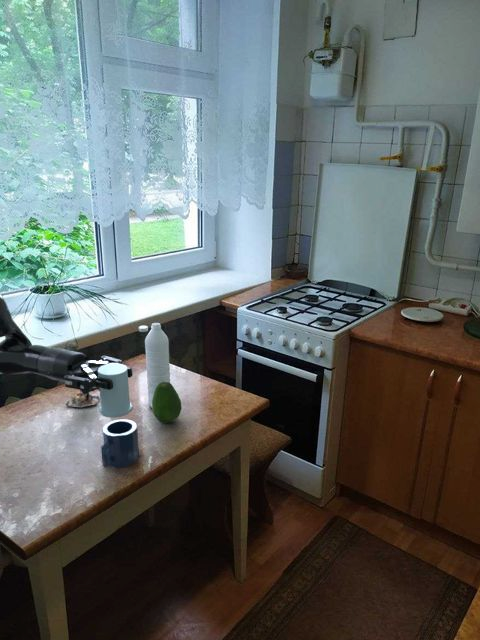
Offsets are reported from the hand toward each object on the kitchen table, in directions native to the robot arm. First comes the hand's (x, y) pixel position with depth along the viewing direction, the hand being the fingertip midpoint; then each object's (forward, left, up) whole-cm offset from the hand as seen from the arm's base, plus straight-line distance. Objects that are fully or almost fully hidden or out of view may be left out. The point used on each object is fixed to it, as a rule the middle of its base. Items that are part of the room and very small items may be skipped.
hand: (121, 378), depth 111 cm
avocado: (+17, -10, -22) cm, 29 cm away
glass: (+1, +2, -8) cm, 9 cm away
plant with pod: (+31, +13, -22) cm, 40 cm away
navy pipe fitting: (0, +2, -21) cm, 22 cm away
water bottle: (+27, -7, -22) cm, 35 cm away
